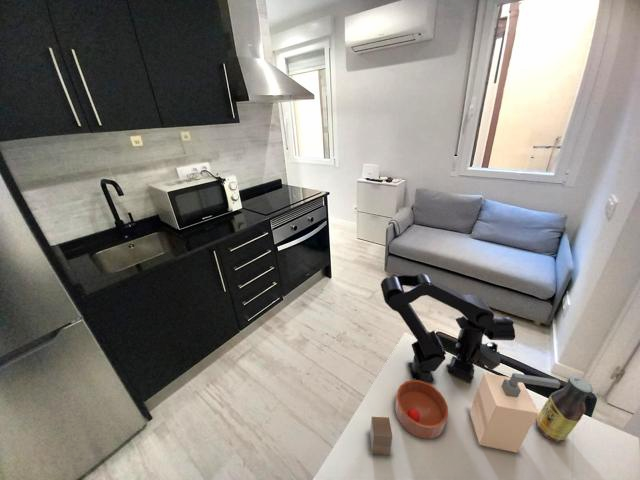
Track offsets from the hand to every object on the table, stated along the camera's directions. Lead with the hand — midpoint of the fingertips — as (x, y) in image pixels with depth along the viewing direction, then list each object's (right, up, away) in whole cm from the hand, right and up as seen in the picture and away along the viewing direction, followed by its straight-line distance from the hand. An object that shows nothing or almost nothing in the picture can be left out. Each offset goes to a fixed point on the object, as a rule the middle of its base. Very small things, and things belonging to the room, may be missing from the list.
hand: (459, 371), depth 83 cm
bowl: (-17, -7, -10) cm, 21 cm away
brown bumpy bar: (0, -1, 0) cm, 1 cm away
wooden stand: (-30, -10, -17) cm, 36 cm away
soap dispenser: (+3, -9, -15) cm, 18 cm away
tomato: (-20, -6, -13) cm, 24 cm away
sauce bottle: (+16, -8, -15) cm, 23 cm away
